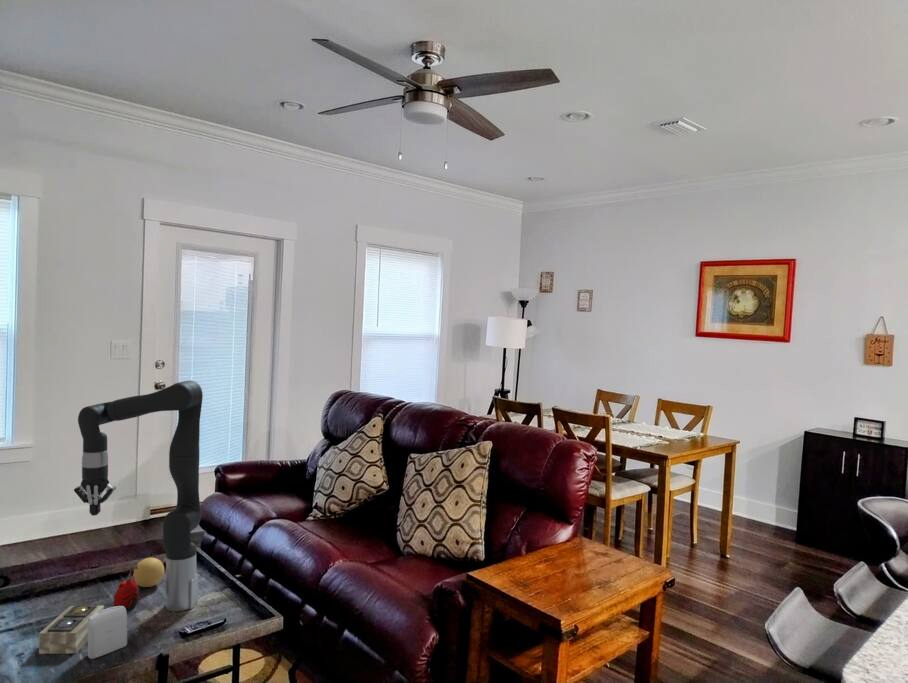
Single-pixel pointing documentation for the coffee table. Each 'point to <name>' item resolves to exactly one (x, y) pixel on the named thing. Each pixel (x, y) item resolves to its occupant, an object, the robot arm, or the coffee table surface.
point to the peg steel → (65, 624)
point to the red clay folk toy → (127, 593)
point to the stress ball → (148, 572)
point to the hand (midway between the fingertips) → (94, 514)
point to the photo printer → (107, 631)
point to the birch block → (67, 632)
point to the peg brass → (80, 610)
